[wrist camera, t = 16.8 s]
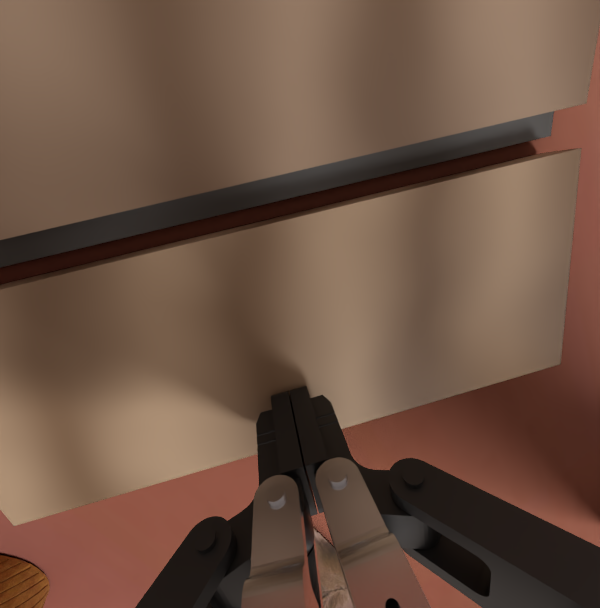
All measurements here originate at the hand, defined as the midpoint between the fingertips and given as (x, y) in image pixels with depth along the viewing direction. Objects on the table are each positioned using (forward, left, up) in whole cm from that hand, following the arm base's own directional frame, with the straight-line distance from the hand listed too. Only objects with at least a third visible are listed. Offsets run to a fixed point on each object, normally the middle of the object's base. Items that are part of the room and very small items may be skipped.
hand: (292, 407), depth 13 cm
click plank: (0, -3, -2) cm, 3 cm away
